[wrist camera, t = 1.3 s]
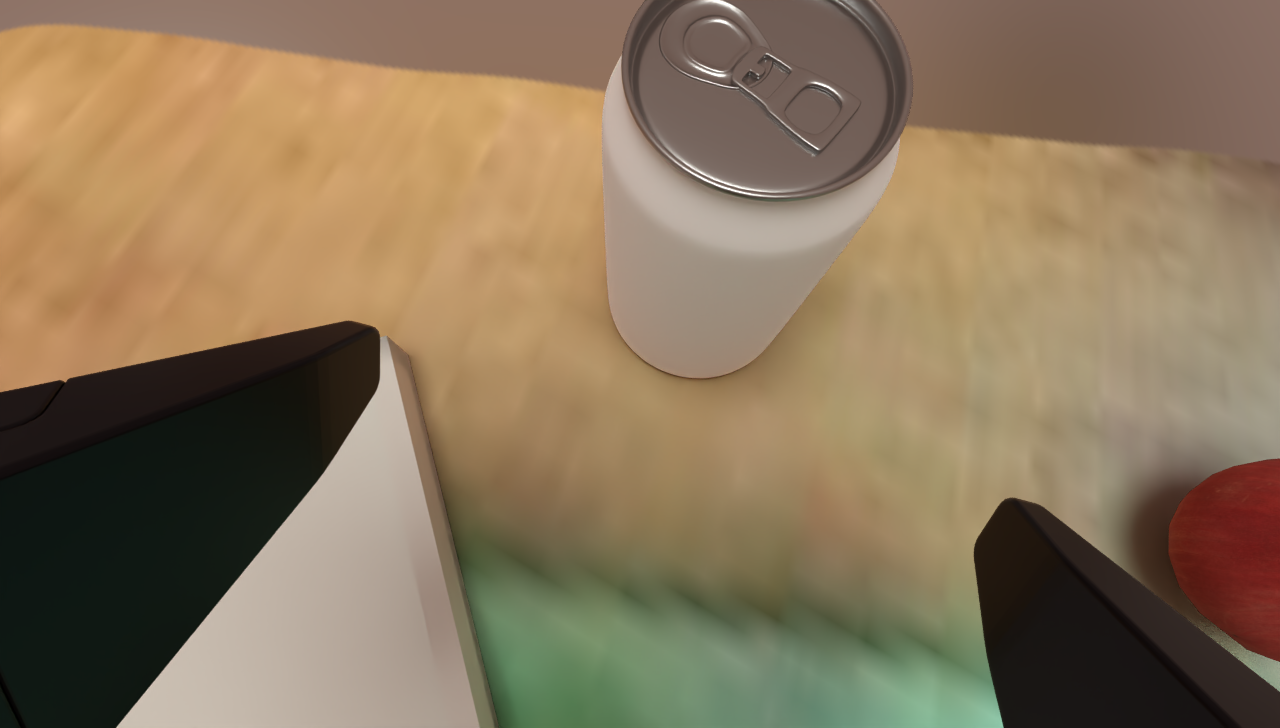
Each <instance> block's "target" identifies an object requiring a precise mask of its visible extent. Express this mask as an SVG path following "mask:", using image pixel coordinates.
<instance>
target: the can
mask: <svg viewBox="0 0 1280 728" xmlns="http://www.w3.org/2000/svg"><path fill="white" fill-rule="evenodd" d="M912 97H913V75H912V68H911V63H910V58H909V55H908V52H907V49H906V46H905V44H904V41H903V39H902V37H901V35H900V33H899V31H898V29H897V28H896V26H895V24H894V23H893V21H892V20H891V18H890V17H889V16H888V14H887V13H886V12H885V10H884V9H883V8H882V7H881V6H880V5H879V4H878V3H877V1H876V0H645V1H644V2H643V4H642V5H641V7H640V8H639V9H638V11H637V13H636V14H635V16H634V18H633V20H632V22H631V24H630V27H629V29H628V31H627V34H626V38H625V41H624V45H623V51H622V56H621V57H620V59H619V61H618V63H617V65H616V66H615V69H614V71H613V73H612V75H611V78H610V80H609V83H608V87H607V90H606V94H605V100H604V107H603V115H602V166H603V196H604V222H605V246H606V268H607V287H608V299H609V306H610V310H611V314H612V317H613V320H614V323H615V325H616V327H617V329H618V331H619V333H620V335H621V336H622V338H623V339H624V341H625V342H626V343H627V345H628V346H629V347H630V348H631V349H632V350H633V351H634V352H635V353H636V354H637V355H638V356H639V357H640V358H642V359H643V360H644V361H646V362H647V363H649V364H650V365H652V366H654V367H656V368H658V369H660V370H662V371H664V372H667V373H670V374H673V375H677V376H681V377H688V378H711V377H717V376H721V375H725V374H728V373H731V372H734V371H736V370H738V369H740V368H742V367H744V366H746V365H747V364H749V363H750V362H752V361H753V360H754V359H755V358H757V357H758V356H759V355H760V354H761V353H762V352H763V351H764V350H765V349H766V348H767V347H768V346H769V344H770V343H771V342H772V341H773V340H774V338H775V337H776V336H777V335H778V333H779V332H780V331H781V330H782V328H783V327H784V326H785V325H786V323H787V322H788V321H789V319H790V318H791V317H792V316H793V314H794V313H795V312H796V311H797V309H798V308H799V307H800V305H801V304H802V303H803V302H804V300H805V299H806V298H807V296H808V295H809V294H810V293H811V291H812V290H813V289H814V287H815V286H816V285H817V284H818V282H819V281H820V280H821V278H822V277H823V276H824V274H825V273H826V272H827V271H828V269H829V268H830V267H831V265H832V264H833V263H834V261H835V260H836V259H837V258H838V256H839V255H840V254H841V252H842V251H843V250H844V248H845V247H846V246H847V244H848V243H849V242H850V240H851V239H852V238H853V236H854V235H855V234H856V232H857V231H858V230H859V229H860V227H861V226H862V225H863V223H864V222H865V221H866V219H867V218H868V216H869V215H870V213H871V212H872V211H873V209H874V208H875V206H876V205H877V203H878V202H879V200H880V198H881V197H882V195H883V193H884V191H885V189H886V187H887V185H888V183H889V181H890V179H891V177H892V174H893V171H894V168H895V165H896V161H897V157H898V151H899V143H900V136H901V134H902V132H903V130H904V127H905V125H906V122H907V119H908V116H909V113H910V109H911V103H912Z"/></svg>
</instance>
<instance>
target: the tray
mask: <svg viewBox="0 0 1280 728" xmlns="http://www.w3.org/2000/svg"><path fill="white" fill-rule="evenodd" d="M116 728H499V724H498V720H497V716H496V712H495V708H494V704H493V700H492V696H491V692H490V688H489V683H488V679H487V675H486V671H485V667H484V663H483V659H482V655H481V651H480V647H479V643H478V639H477V634H476V630H475V626H474V622H473V618H472V614H471V610H470V606H469V602H468V598H467V594H466V589H465V585H464V581H463V577H462V573H461V569H460V565H459V561H458V557H457V553H456V549H455V544H454V540H453V536H452V532H451V528H450V524H449V520H448V516H447V512H446V508H445V504H444V500H443V495H442V491H441V487H440V483H439V479H438V475H437V471H436V467H435V463H434V459H433V455H432V450H431V446H430V442H429V438H428V434H427V430H426V426H425V422H424V418H423V414H422V410H421V405H420V401H419V397H418V393H417V389H416V385H415V381H414V377H413V373H412V369H411V365H410V361H409V356H408V354H407V353H406V352H404V351H403V350H402V349H401V348H400V347H399V346H398V345H397V344H395V343H394V342H393V341H392V340H391V339H390V338H389V337H388V336H384V337H380V381H379V385H378V388H377V390H376V392H375V394H374V396H373V397H372V399H371V401H370V402H369V404H368V405H367V407H366V408H365V410H364V412H363V413H362V415H361V416H360V418H359V419H358V421H357V423H356V424H355V426H354V427H353V429H352V430H351V432H350V433H349V435H348V437H347V438H346V440H345V441H344V443H343V444H342V446H341V448H340V449H339V451H338V452H337V454H336V455H335V457H334V459H333V460H332V462H331V463H330V464H329V466H328V467H327V469H326V470H325V472H324V473H323V475H322V476H321V477H320V478H319V480H318V481H317V482H316V484H315V485H314V486H313V487H312V489H311V490H310V491H309V492H308V494H307V495H306V496H305V497H304V498H303V500H302V501H301V502H300V503H299V505H298V506H297V507H296V508H295V509H294V511H293V512H292V513H291V514H290V516H289V517H288V518H287V519H286V520H285V522H284V523H283V524H282V525H281V527H280V528H279V529H278V530H277V531H276V533H275V534H274V535H273V536H272V538H271V539H270V540H269V541H268V543H267V544H266V545H265V546H264V547H263V549H262V550H261V551H260V552H259V554H258V555H257V556H256V557H255V558H254V560H253V561H252V562H251V563H250V565H249V566H248V567H247V568H246V569H245V571H244V572H243V573H242V574H241V576H240V577H239V578H238V579H237V580H236V582H235V583H234V584H233V585H232V587H231V588H230V589H229V590H228V592H227V593H226V594H225V595H224V596H223V598H222V599H221V600H220V601H219V603H218V604H217V605H216V606H215V607H214V609H213V610H212V611H211V612H210V614H209V615H208V616H207V617H206V618H205V620H204V621H203V622H202V623H201V625H200V626H199V627H198V628H197V629H196V631H195V632H194V633H193V634H192V636H191V637H190V638H189V639H188V640H187V642H186V643H185V644H184V645H183V647H182V648H181V649H180V650H179V652H178V653H177V654H176V655H175V656H174V658H173V659H172V660H171V661H170V663H169V664H168V665H167V666H166V667H165V669H164V670H163V671H162V672H161V674H160V675H159V676H158V677H157V678H156V680H155V681H154V682H153V683H152V685H151V686H150V687H149V688H148V689H147V691H146V692H145V693H144V694H143V696H142V697H141V698H140V699H139V701H138V702H137V703H136V704H135V705H134V707H133V708H132V709H131V710H130V712H129V713H128V714H127V715H126V716H125V718H124V719H123V720H122V721H121V723H120V724H119V725H118V726H117V727H116Z"/></svg>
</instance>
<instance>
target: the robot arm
mask: <svg viewBox="0 0 1280 728" xmlns="http://www.w3.org/2000/svg"><path fill="white" fill-rule="evenodd" d="M379 381H380V334H379V331H378V330H377V329H376V328H375V327H373V326H369V325H366V324H362V323H358V322H355V321H343V322H338V323H333V324H329V325H324V326H319V327H314V328H309V329H305V330H300V331H295V332H290V333H285V334H280V335H276V336H271V337H266V338H261V339H256V340H252V341H247V342H242V343H237V344H232V345H227V346H223V347H218V348H213V349H208V350H203V351H199V352H194V353H189V354H184V355H179V356H175V357H170V358H165V359H160V360H155V361H150V362H146V363H141V364H136V365H131V366H126V367H122V368H117V369H112V370H107V371H102V372H97V373H93V374H88V375H83V376H78V377H73V378H69V379H68V380H67V381H66V383H65V382H64V381H61V380H58V381H53V382H49V383H44V384H39V385H34V386H29V387H25V388H20V389H14V390H9V391H4V392H0V728H116V727H117V726H118V725H119V724H120V723H121V721H122V720H123V719H124V718H125V716H126V715H127V714H128V713H129V712H130V710H131V709H132V708H133V707H134V705H135V704H136V703H137V702H138V701H139V699H140V698H141V697H142V696H143V694H144V693H145V692H146V691H147V689H148V688H149V687H150V686H151V685H152V683H153V682H154V681H155V680H156V678H157V677H158V676H159V675H160V674H161V672H162V671H163V670H164V669H165V667H166V666H167V665H168V664H169V663H170V661H171V660H172V659H173V658H174V656H175V655H176V654H177V653H178V652H179V650H180V649H181V648H182V647H183V645H184V644H185V643H186V642H187V640H188V639H189V638H190V637H191V636H192V634H193V633H194V632H195V631H196V629H197V628H198V627H199V626H200V625H201V623H202V622H203V621H204V620H205V618H206V617H207V616H208V615H209V614H210V612H211V611H212V610H213V609H214V607H215V606H216V605H217V604H218V603H219V601H220V600H221V599H222V598H223V596H224V595H225V594H226V593H227V592H228V590H229V589H230V588H231V587H232V585H233V584H234V583H235V582H236V580H237V579H238V578H239V577H240V576H241V574H242V573H243V572H244V571H245V569H246V568H247V567H248V566H249V565H250V563H251V562H252V561H253V560H254V558H255V557H256V556H257V555H258V554H259V552H260V551H261V550H262V549H263V547H264V546H265V545H266V544H267V543H268V541H269V540H270V539H271V538H272V536H273V535H274V534H275V533H276V531H277V530H278V529H279V528H280V527H281V525H282V524H283V523H284V522H285V520H286V519H287V518H288V517H289V516H290V514H291V513H292V512H293V511H294V509H295V508H296V507H297V506H298V505H299V503H300V502H301V501H302V500H303V498H304V497H305V496H306V495H307V494H308V492H309V491H310V490H311V489H312V487H313V486H314V485H315V484H316V482H317V481H318V480H319V478H320V477H321V476H322V475H323V473H324V472H325V470H326V469H327V467H328V466H329V464H330V463H331V462H332V460H333V459H334V457H335V455H336V454H337V452H338V451H339V449H340V448H341V446H342V444H343V443H344V441H345V440H346V438H347V437H348V435H349V433H350V432H351V430H352V429H353V427H354V426H355V424H356V423H357V421H358V419H359V418H360V416H361V415H362V413H363V412H364V410H365V408H366V407H367V405H368V404H369V402H370V401H371V399H372V397H373V396H374V394H375V392H376V390H377V388H378V385H379ZM974 563H975V570H976V578H977V586H978V594H979V602H980V610H981V617H982V625H983V633H984V641H985V647H986V653H987V659H988V663H989V668H990V673H991V677H992V681H993V685H994V690H995V694H996V698H997V702H998V706H999V710H1000V714H1001V718H1002V722H1003V727H1004V728H1280V692H1279V691H1278V690H1277V689H1275V688H1274V687H1273V686H1272V685H1270V684H1269V683H1268V682H1266V681H1265V680H1264V679H1263V678H1261V677H1260V676H1259V675H1257V674H1256V673H1255V672H1254V671H1252V670H1251V669H1250V668H1248V667H1247V666H1246V665H1245V664H1243V663H1242V662H1241V661H1240V660H1238V659H1237V658H1236V657H1234V656H1233V655H1232V654H1231V653H1229V652H1228V651H1227V650H1225V649H1224V648H1223V647H1222V646H1220V645H1219V644H1218V643H1216V642H1215V641H1214V640H1213V639H1211V638H1210V637H1209V636H1208V635H1206V634H1205V633H1204V632H1202V631H1201V630H1200V629H1199V628H1197V627H1196V626H1195V625H1193V624H1192V623H1191V622H1190V621H1188V620H1187V619H1186V618H1185V617H1183V616H1182V615H1181V614H1179V613H1178V612H1177V611H1176V610H1174V609H1173V608H1172V607H1170V606H1169V605H1168V604H1167V603H1165V602H1164V601H1163V600H1161V599H1160V598H1159V597H1158V596H1156V595H1155V594H1154V593H1153V592H1151V591H1150V590H1149V589H1147V588H1146V587H1145V586H1144V585H1142V584H1141V583H1140V582H1138V581H1137V580H1136V579H1135V578H1133V577H1132V576H1131V575H1130V574H1128V573H1127V572H1126V571H1124V570H1123V569H1122V568H1121V567H1119V566H1118V565H1117V564H1115V563H1114V562H1113V561H1112V560H1110V559H1109V558H1108V557H1106V556H1105V555H1104V554H1103V553H1101V552H1100V551H1099V550H1098V549H1096V548H1095V547H1094V546H1092V545H1091V544H1090V543H1089V542H1087V541H1086V540H1085V539H1083V538H1082V537H1081V536H1080V535H1078V534H1077V533H1076V532H1074V531H1073V530H1072V529H1071V528H1069V527H1068V526H1067V525H1066V524H1064V523H1063V522H1062V521H1060V520H1059V519H1058V518H1057V517H1055V516H1054V515H1053V514H1051V513H1050V512H1049V511H1048V510H1046V509H1045V508H1044V507H1042V506H1041V505H1038V504H1036V503H1032V502H1028V501H1025V500H1021V499H1017V498H1007V499H1005V500H1004V501H1002V502H1001V503H1000V505H999V506H998V507H997V509H996V510H995V512H994V514H993V515H992V517H991V518H990V520H989V521H988V523H987V524H986V526H985V527H984V529H983V530H982V532H981V533H980V535H979V536H978V538H977V540H976V543H975V547H974Z"/></svg>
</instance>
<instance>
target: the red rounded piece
mask: <svg viewBox="0 0 1280 728" xmlns="http://www.w3.org/2000/svg"><path fill="white" fill-rule="evenodd" d="M1168 554H1169V557H1170V560H1171V563H1172V566H1173V569H1174V572H1175V575H1176V579H1177V582H1178V585H1179V586H1180V588H1181V589H1182V590H1183V592H1184V593H1185V594H1186V595H1187V597H1188V598H1189V599H1190V601H1191V602H1192V603H1193V605H1194V606H1195V607H1196V608H1197V610H1198V611H1199V612H1200V613H1201V614H1202V615H1203V616H1205V617H1206V618H1207V619H1209V620H1210V621H1211V622H1212V623H1214V624H1215V625H1216V626H1217V627H1219V628H1220V629H1221V630H1223V631H1224V632H1225V633H1226V634H1228V635H1229V636H1230V637H1232V638H1233V639H1234V640H1235V641H1237V642H1238V643H1239V644H1241V645H1242V646H1243V647H1244V648H1246V649H1247V650H1249V651H1252V652H1255V653H1257V654H1260V655H1263V656H1265V657H1268V658H1270V659H1273V660H1276V661H1279V662H1280V459H1269V460H1263V461H1258V462H1253V463H1248V464H1243V465H1238V466H1233V467H1231V468H1228V469H1225V470H1223V471H1220V472H1218V473H1215V474H1213V475H1211V476H1210V477H1209V478H1207V479H1206V480H1205V481H1203V482H1202V483H1201V484H1199V485H1198V486H1197V487H1195V488H1194V489H1193V490H1191V491H1190V492H1189V493H1188V494H1187V495H1186V496H1185V498H1184V499H1183V500H1182V501H1181V502H1180V504H1179V506H1178V508H1177V510H1176V512H1175V514H1174V516H1173V518H1172V520H1171V522H1170V524H1169V552H1168Z"/></svg>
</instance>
